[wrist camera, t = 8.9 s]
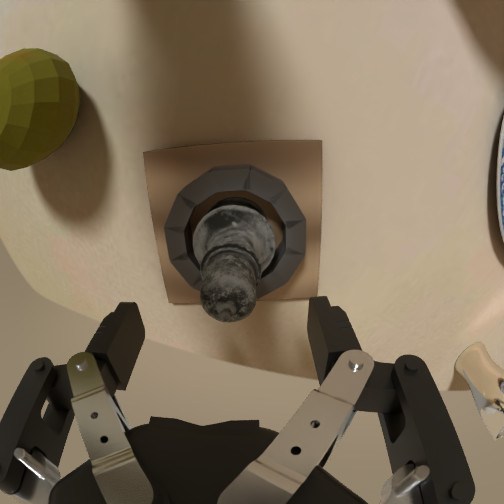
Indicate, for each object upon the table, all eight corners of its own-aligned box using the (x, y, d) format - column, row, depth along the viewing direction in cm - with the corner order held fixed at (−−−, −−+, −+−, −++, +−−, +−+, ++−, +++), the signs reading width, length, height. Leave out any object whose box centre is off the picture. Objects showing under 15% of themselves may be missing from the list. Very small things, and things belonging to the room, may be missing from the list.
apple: (115, 120, 21) (32, 126, 11) (44, 177, 22) (-36, 212, 12) (78, 37, 17) (0, 12, 7) (13, 100, 18) (-66, 108, 8)
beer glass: (470, 337, 31) (520, 410, 18) (492, 339, 32) (538, 402, 19) (445, 372, 34) (484, 445, 21) (468, 371, 35) (506, 435, 21)
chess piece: (248, 272, 25) (248, 378, 15) (188, 240, 24) (145, 333, 13) (286, 216, 23) (316, 301, 12) (222, 179, 22) (195, 236, 11)
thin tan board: (146, 151, 22) (131, 156, 19) (319, 140, 22) (330, 142, 19) (170, 298, 28) (162, 318, 25) (315, 292, 27) (322, 312, 24)
